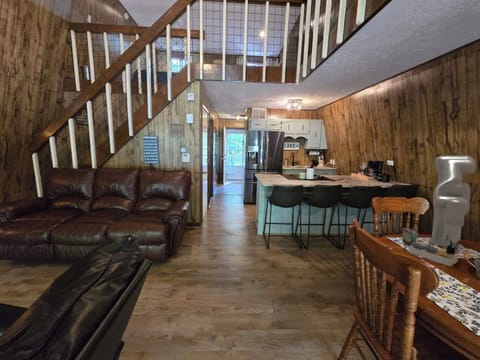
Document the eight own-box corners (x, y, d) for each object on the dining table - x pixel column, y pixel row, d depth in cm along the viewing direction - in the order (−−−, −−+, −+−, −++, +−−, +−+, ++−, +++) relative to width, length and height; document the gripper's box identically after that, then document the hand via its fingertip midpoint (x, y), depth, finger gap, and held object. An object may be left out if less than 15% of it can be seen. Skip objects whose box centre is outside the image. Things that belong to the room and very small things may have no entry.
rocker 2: (426, 247, 136) (427, 244, 135) (437, 252, 131) (438, 250, 131) (422, 249, 134) (423, 246, 133) (434, 254, 129) (435, 251, 128)
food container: (421, 249, 145) (422, 234, 144) (410, 248, 146) (412, 233, 145) (411, 241, 157) (412, 228, 156) (401, 241, 158) (402, 227, 157)
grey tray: (416, 249, 145) (416, 243, 144) (457, 262, 128) (458, 255, 127) (408, 252, 140) (409, 246, 140) (450, 266, 123) (450, 259, 122)
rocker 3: (440, 252, 130) (440, 249, 130) (452, 256, 125) (453, 253, 125) (436, 254, 128) (437, 251, 128) (449, 258, 123) (449, 255, 123)
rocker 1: (413, 243, 141) (414, 241, 141) (424, 248, 137) (425, 246, 136) (410, 245, 139) (411, 242, 139) (420, 250, 135) (421, 247, 134)
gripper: (450, 217, 129) (447, 248, 131) (439, 222, 122) (436, 254, 124) (468, 221, 123) (464, 252, 125) (457, 225, 115) (454, 259, 117)
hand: (450, 253), depth 124 cm, fingers closed
